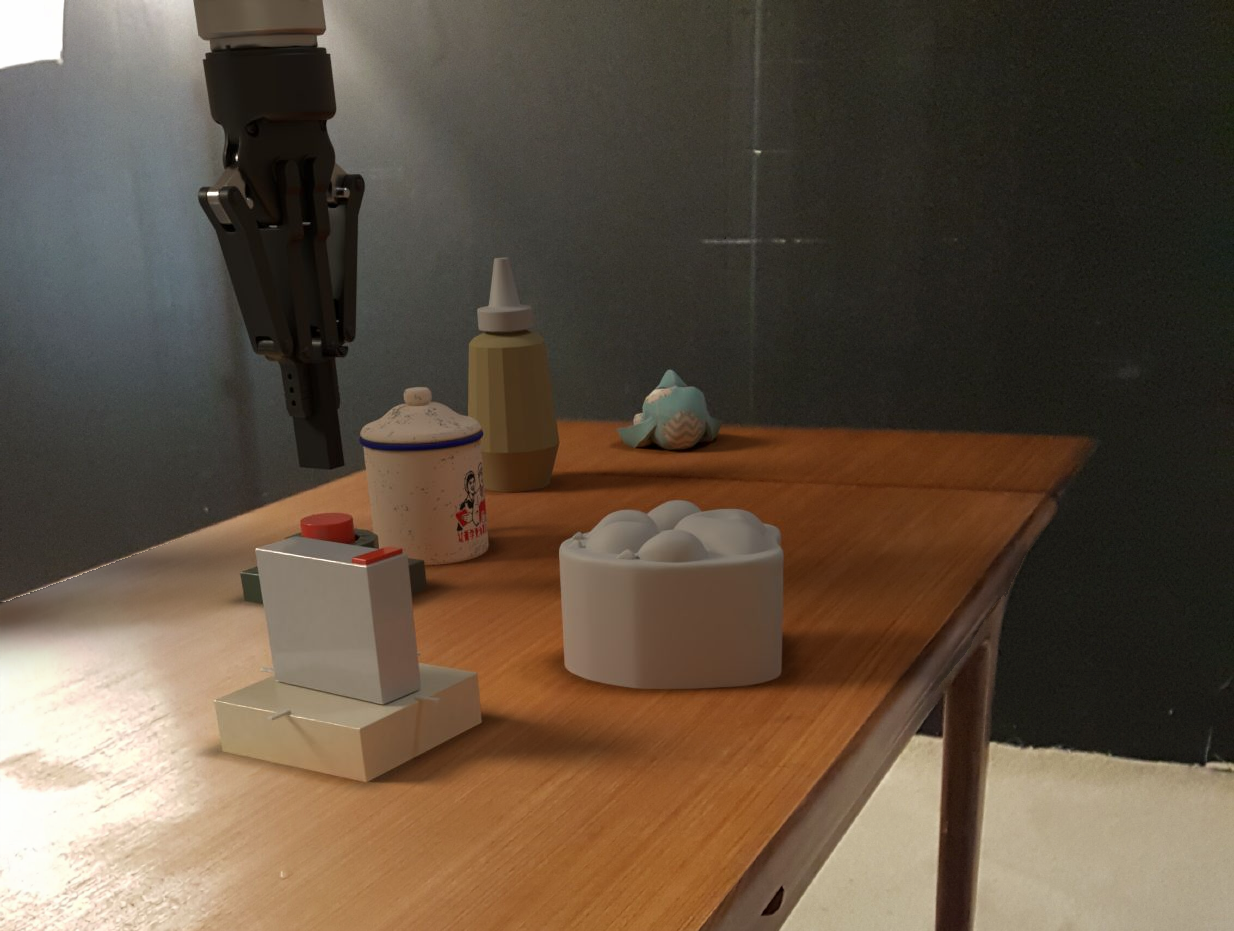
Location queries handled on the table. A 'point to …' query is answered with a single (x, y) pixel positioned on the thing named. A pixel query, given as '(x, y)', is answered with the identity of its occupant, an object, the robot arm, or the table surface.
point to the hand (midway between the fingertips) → (322, 465)
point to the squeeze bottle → (511, 392)
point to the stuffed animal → (672, 418)
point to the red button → (329, 527)
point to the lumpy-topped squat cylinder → (674, 599)
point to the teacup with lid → (426, 480)
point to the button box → (362, 539)
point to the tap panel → (347, 723)
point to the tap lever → (340, 618)
